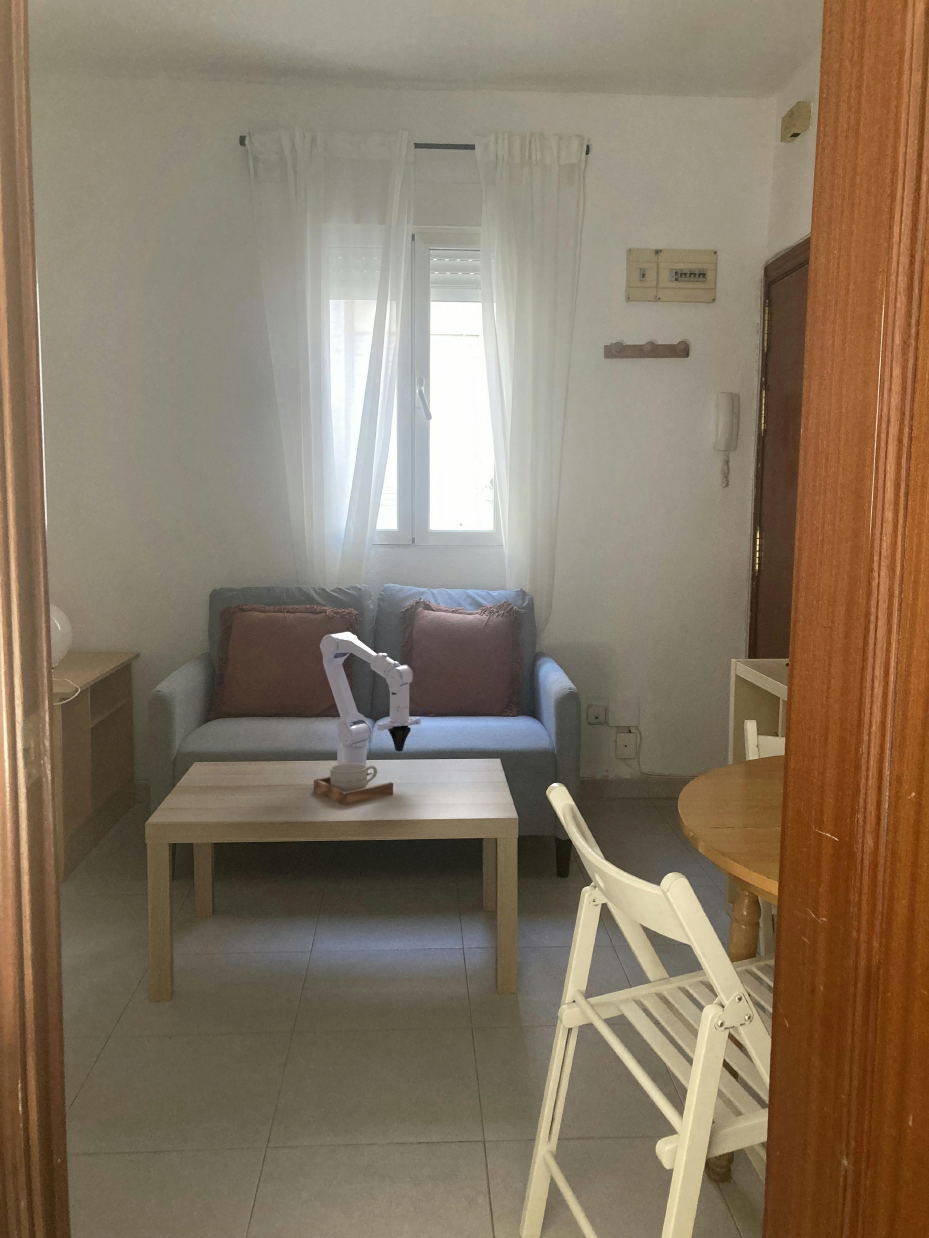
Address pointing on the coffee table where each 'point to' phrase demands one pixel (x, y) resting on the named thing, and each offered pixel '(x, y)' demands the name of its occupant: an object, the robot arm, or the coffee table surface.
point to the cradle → (351, 792)
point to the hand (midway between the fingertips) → (398, 750)
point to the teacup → (351, 776)
